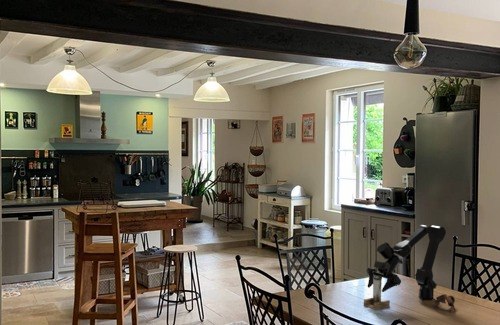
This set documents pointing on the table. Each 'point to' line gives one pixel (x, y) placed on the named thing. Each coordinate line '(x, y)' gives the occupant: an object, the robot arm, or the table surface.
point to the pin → (377, 289)
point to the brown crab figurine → (442, 299)
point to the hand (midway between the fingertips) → (375, 289)
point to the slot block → (376, 304)
